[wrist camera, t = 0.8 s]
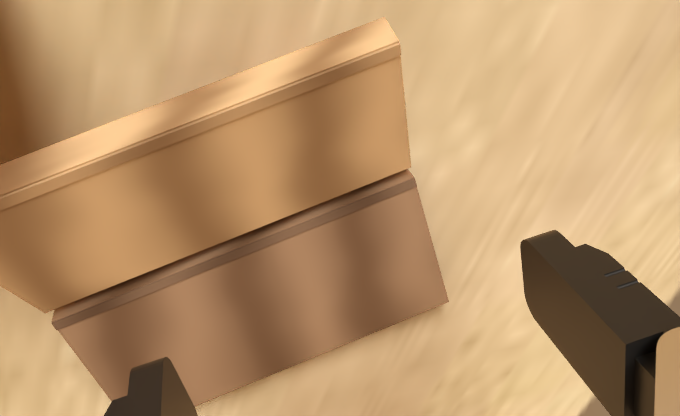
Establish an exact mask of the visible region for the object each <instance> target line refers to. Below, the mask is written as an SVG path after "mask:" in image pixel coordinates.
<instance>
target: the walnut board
mask: <svg viewBox="0 0 680 416" xmlns="http://www.w3.org/2000/svg"><path fill="white" fill-rule="evenodd" d="M447 302H449V301H448V297H447V294H446V290H445V286H444V283H443V279H442V276H441V272H440V269H439V265H438V261H437V258H436V254H435V251H434V247H433V244H432V240H431V236H430V233H429V229H428V226H427V222H426V219H425V215H424V211H423V208H422V204H421V201H420V197H419V194H418V190H417V185H416V181H415V178H414V177H413V175H412V174H411V173H410V172H409V170H408V169H405V170H403V171H400V172H398V173H395V174H393V175H390V176H388V177H385V178H383V179H380V180H378V181H375V182H373V183H370V184H368V185H365V186H363V187H360V188H358V189H355V190H353V191H350V192H348V193H345V194H343V195H340V196H338V197H335V198H333V199H330V200H328V201H325V202H322V203H320V204H317V205H315V206H312V207H310V208H307V209H305V210H302V211H300V212H297V213H295V214H292V215H290V216H287V217H285V218H282V219H280V220H277V221H275V222H272V223H270V224H267V225H265V226H262V227H260V228H257V229H255V230H252V231H250V232H247V233H245V234H242V235H240V236H237V237H235V238H232V239H230V240H227V241H225V242H222V243H220V244H217V245H215V246H212V247H210V248H207V249H205V250H202V251H199V252H197V253H194V254H192V255H189V256H187V257H184V258H182V259H179V260H177V261H174V262H172V263H169V264H167V265H164V266H162V267H159V268H157V269H154V270H152V271H149V272H147V273H144V274H142V275H139V276H137V277H134V278H132V279H129V280H127V281H124V282H122V283H119V284H117V285H114V286H112V287H109V288H107V289H104V290H102V291H99V292H97V293H94V294H92V295H89V296H87V297H84V298H82V299H79V300H77V301H74V302H71V303H69V304H66V305H64V306H61V307H59V308H56V309H55V311H54V315H53V318H52V325H53V326H54V327H55V329H56V330H58V331H59V332H60V333H61V335H62V336H63V337H64V339H65V340H66V341H67V343H68V344H69V345H70V347H71V348H72V349H73V351H74V352H75V353H76V355H77V356H78V357H79V359H80V360H81V361H82V363H83V364H84V365H85V367H86V368H87V369H88V371H89V372H90V373H91V374H92V376H93V377H94V378H95V380H96V381H97V382H98V384H99V385H100V386H101V388H102V389H103V390H104V392H105V393H106V394H107V396H108V397H109V398H110V400H111V401H113V400H115V399H118V398H121V397H124V396H127V394H128V385H129V376H130V371H131V369H132V368H133V367H136V366H139V365H142V364H145V363H148V362H152V361H155V360H158V359H161V358H164V357H168V358H169V359H170V360H171V362H172V364H173V366H174V367H175V369H176V371H177V373H178V375H179V377H180V379H181V381H182V383H183V385H184V387H185V389H186V391H187V393H188V395H189V397H190V399H191V400H192V402H193V405H194V406H197V405H199V404H202V403H204V402H206V401H209V400H211V399H214V398H216V397H219V396H221V395H223V394H226V393H228V392H231V391H233V390H236V389H238V388H240V387H243V386H245V385H248V384H250V383H253V382H255V381H257V380H260V379H262V378H265V377H267V376H270V375H272V374H274V373H277V372H279V371H282V370H284V369H287V368H289V367H291V366H294V365H296V364H299V363H301V362H304V361H306V360H308V359H311V358H313V357H316V356H318V355H321V354H323V353H326V352H328V351H330V350H333V349H335V348H338V347H340V346H343V345H345V344H347V343H350V342H352V341H355V340H357V339H360V338H362V337H364V336H367V335H369V334H372V333H374V332H377V331H379V330H381V329H384V328H386V327H389V326H391V325H394V324H396V323H398V322H401V321H403V320H406V319H408V318H411V317H413V316H415V315H418V314H420V313H423V312H425V311H428V310H430V309H432V308H435V307H437V306H440V305H442V304H445V303H447Z"/></svg>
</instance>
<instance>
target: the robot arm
mask: <svg viewBox="0 0 680 416" xmlns="http://www.w3.org/2000/svg"><path fill="white" fill-rule="evenodd" d="M520 248H521V260H522V271H523V282H524V293H525V298H526V302H527V305H528V307H529V309H530V312H531V314H532V315H533V317H534V319H535V320H536V321H537V323H538V324H539V325H540V327H541V328H542V329H543V330H544V332H545V333H546V334H547V335H548V337H549V338H550V339H551V340H552V342H553V343H554V344H555V345H556V347H557V348H558V349H559V351H560V352H561V353H562V354H563V356H564V357H565V358H566V359H567V361H568V362H569V363H570V364H571V366H572V367H573V368H574V369H575V371H576V372H577V373H578V375H579V376H580V377H581V378H582V380H583V381H584V382H585V383H586V385H587V386H588V387H589V388H590V390H591V391H592V392H593V393H594V395H595V396H596V397H597V398H598V400H599V401H600V402H601V404H602V405H603V406H604V407H605V409H606V410H607V411H608V412H609V414H610V415H611V416H680V317H679V316H678V315H677V314H676V313H674V312H673V311H672V310H671V309H670V308H669V307H668V306H667V305H666V304H664V303H663V302H662V301H661V300H660V299H659V298H658V297H657V296H655V295H654V294H653V293H652V292H651V291H650V290H649V289H648V288H646V287H645V286H644V285H643V284H642V283H641V282H640V283H639V282H638V281H637V279H636V278H635V277H634V276H633V275H632V274H631V273H630V272H628V271H625V269H624V267H623V266H622V265H621V264H619V263H618V262H617V261H616V260H615V259H614V258H613V257H612V256H610V255H609V254H608V253H606V252H603V251H601V250H599V249H596V248H594V247H592V246H589V245H587V244H584V245H581V246H578V247H574V246H573V245H572V244H571V243H570V242H569V241H568V240H567V239H566V238H565V237H564V236H563V235H562V234H560V233H559V232H558V231H556V230H552V231H549V232H546V233H543V234H540V235H537V236H534V237H531V238H528V239H525V240H523V241H522V242H521V247H520ZM104 416H197V412H196V410H195V407H194V405H193V402H192V400H191V399H190V397H189V395H188V393H187V391H186V389H185V387H184V385H183V383H182V381H181V379H180V377H179V375H178V373H177V371H176V369H175V367H174V366H173V364H172V362H171V360H170V359H169V358H168V357H164V358H161V359H158V360H155V361H152V362H148V363H145V364H142V365H139V366H136V367H133V368H132V369H131V371H130V376H129V385H128V394H127V396H124V397H121V398H118V399H115V400H113V401H112V402H111V404H110V406H109V408H108V409H107V411H106V413H105V415H104Z"/></svg>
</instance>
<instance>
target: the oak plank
mask: <svg viewBox="0 0 680 416" xmlns="http://www.w3.org/2000/svg"><path fill="white" fill-rule="evenodd" d="M400 55H401V49H400V43H399V40H398V38H397V37H396V35H395V33H394V32H393V30H392V28H391V27H390V25H389V24H388V22H387V20H386V19H385V17H383V18H380V19H378V20H375V21H373V22H370V23H367V24H365V25H362V26H360V27H357V28H354V29H352V30H349V31H347V32H344V33H341V34H339V35H336V36H334V37H331V38H328V39H326V40H323V41H321V42H318V43H315V44H313V45H310V46H308V47H305V48H302V49H300V50H297V51H295V52H292V53H289V54H287V55H284V56H282V57H279V58H276V59H274V60H271V61H269V62H266V63H263V64H261V65H258V66H256V67H253V68H250V69H248V70H245V71H243V72H240V73H237V74H235V75H232V76H229V77H227V78H224V79H222V80H219V81H216V82H214V83H211V84H209V85H206V86H203V87H201V88H198V89H196V90H193V91H190V92H188V93H185V94H183V95H180V96H177V97H175V98H172V99H170V100H167V101H164V102H162V103H159V104H157V105H154V106H151V107H149V108H146V109H144V110H141V111H138V112H136V113H133V114H131V115H128V116H125V117H123V118H120V119H118V120H115V121H112V122H110V123H107V124H105V125H102V126H99V127H97V128H94V129H92V130H89V131H86V132H84V133H81V134H79V135H76V136H73V137H71V138H68V139H66V140H63V141H60V142H58V143H55V144H53V145H50V146H47V147H45V148H42V149H40V150H37V151H34V152H32V153H29V154H27V155H24V156H21V157H19V158H16V159H14V160H11V161H8V162H6V163H3V164H1V165H0V286H2V287H3V288H5V289H7V290H8V291H10V292H12V293H13V294H15V295H16V296H18V297H20V298H21V299H23V300H25V301H26V302H28V303H29V304H31V305H33V306H34V307H36V308H38V309H39V310H41V311H42V312H44V313H46V312H49V311H51V310H54V309H56V308H59V307H61V306H64V305H66V304H69V303H71V302H74V301H77V300H79V299H82V298H84V297H87V296H89V295H92V294H94V293H97V292H99V291H102V290H104V289H107V288H109V287H112V286H114V285H117V284H119V283H122V282H124V281H127V280H129V279H132V278H134V277H137V276H139V275H142V274H144V273H147V272H149V271H152V270H154V269H157V268H159V267H162V266H164V265H167V264H169V263H172V262H174V261H177V260H179V259H182V258H184V257H187V256H189V255H192V254H194V253H197V252H199V251H202V250H205V249H207V248H210V247H212V246H215V245H217V244H220V243H222V242H225V241H227V240H230V239H232V238H235V237H237V236H240V235H242V234H245V233H247V232H250V231H252V230H255V229H257V228H260V227H262V226H265V225H267V224H270V223H272V222H275V221H277V220H280V219H282V218H285V217H287V216H290V215H292V214H295V213H297V212H300V211H302V210H305V209H307V208H310V207H312V206H315V205H317V204H320V203H322V202H325V201H328V200H330V199H333V198H335V197H338V196H340V195H343V194H345V193H348V192H350V191H353V190H355V189H358V188H360V187H363V186H365V185H368V184H370V183H373V182H375V181H378V180H380V179H383V178H385V177H388V176H390V175H393V174H395V173H398V172H400V171H403V170H405V169H408V168H410V167H411V161H410V150H409V140H408V130H407V119H406V109H405V99H404V88H403V78H402V68H401V57H400Z"/></svg>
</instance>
